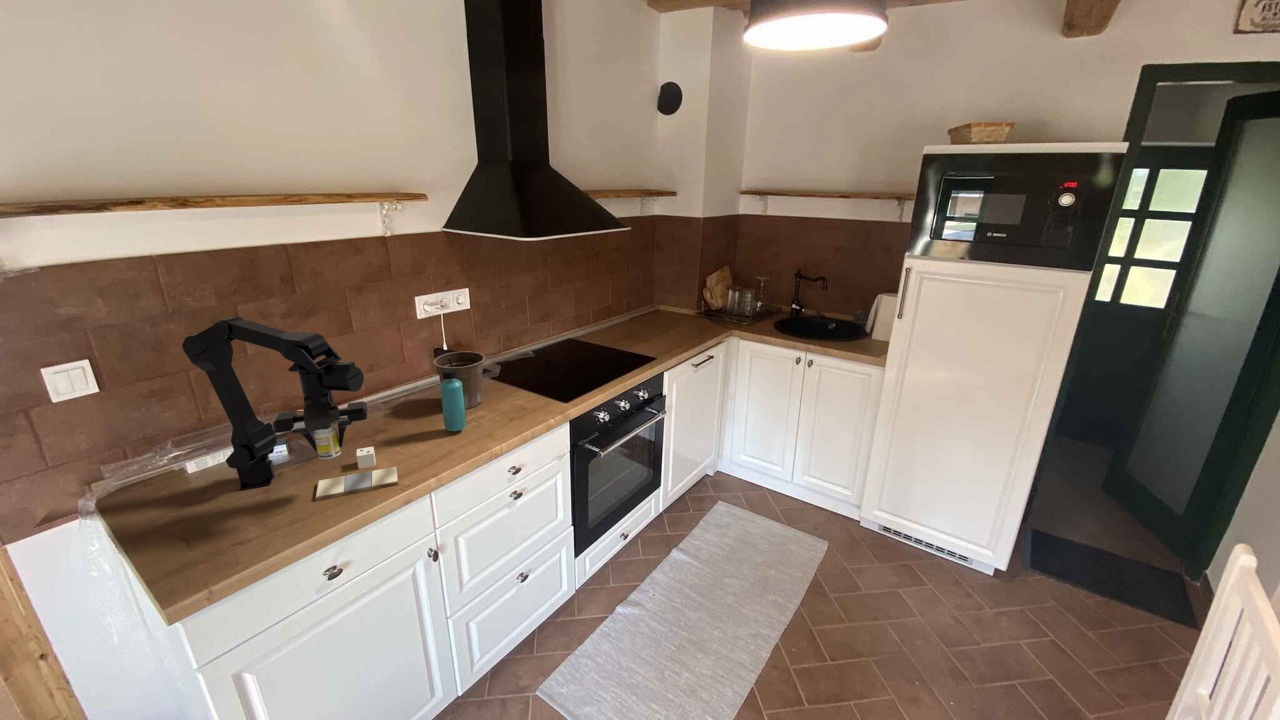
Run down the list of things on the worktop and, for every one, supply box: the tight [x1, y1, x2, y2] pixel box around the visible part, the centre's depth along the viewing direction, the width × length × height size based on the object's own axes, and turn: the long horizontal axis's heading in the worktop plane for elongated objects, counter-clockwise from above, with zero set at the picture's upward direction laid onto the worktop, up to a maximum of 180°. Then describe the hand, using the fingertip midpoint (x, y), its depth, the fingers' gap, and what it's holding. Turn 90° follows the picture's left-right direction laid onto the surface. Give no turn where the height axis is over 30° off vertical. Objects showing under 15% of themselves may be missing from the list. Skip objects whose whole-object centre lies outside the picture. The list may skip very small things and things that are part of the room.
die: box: [356, 446, 377, 470], centre depth 140 cm, size 4×4×4 cm
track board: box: [315, 466, 399, 502], centre depth 132 cm, size 18×8×1 cm, turn 116°
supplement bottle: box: [314, 423, 342, 460], centre depth 125 cm, size 5×5×8 cm
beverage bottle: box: [439, 369, 467, 432], centre depth 157 cm, size 6×7×20 cm
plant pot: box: [433, 350, 486, 410], centre depth 177 cm, size 16×16×16 cm
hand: (329, 448), depth 126 cm, fingers closed on supplement bottle, 5 cm apart
